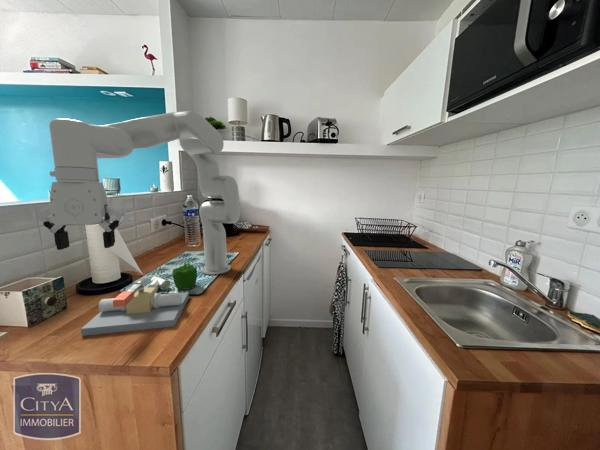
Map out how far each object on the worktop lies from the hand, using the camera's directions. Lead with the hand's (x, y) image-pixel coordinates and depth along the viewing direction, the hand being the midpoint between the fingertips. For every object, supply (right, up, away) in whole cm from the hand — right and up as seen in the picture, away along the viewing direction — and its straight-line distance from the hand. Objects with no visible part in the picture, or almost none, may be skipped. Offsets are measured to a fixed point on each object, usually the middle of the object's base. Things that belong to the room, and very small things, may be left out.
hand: (86, 247), depth 60 cm
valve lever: (+6, -15, +8) cm, 18 cm away
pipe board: (+5, -21, +14) cm, 26 cm away
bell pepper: (+9, -19, +33) cm, 39 cm away
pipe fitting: (-2, -19, +33) cm, 38 cm away
